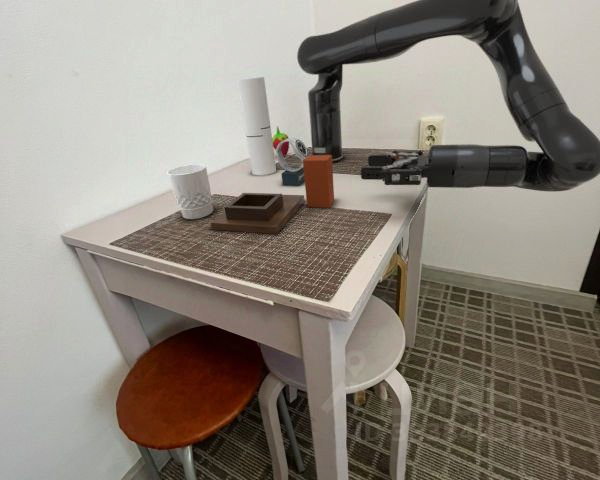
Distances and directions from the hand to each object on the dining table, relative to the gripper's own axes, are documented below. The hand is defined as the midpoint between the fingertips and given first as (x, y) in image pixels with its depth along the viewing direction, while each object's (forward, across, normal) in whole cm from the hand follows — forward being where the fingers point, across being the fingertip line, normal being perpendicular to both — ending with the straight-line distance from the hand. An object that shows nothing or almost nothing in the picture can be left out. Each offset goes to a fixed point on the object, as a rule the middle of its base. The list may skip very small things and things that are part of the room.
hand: (365, 166), depth 64 cm
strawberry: (+34, -40, +8) cm, 53 cm away
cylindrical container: (+34, -23, +8) cm, 41 cm away
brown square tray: (+20, +7, +8) cm, 23 cm away
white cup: (+36, +8, +8) cm, 37 cm away
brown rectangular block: (+10, 0, +8) cm, 13 cm away
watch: (+20, -14, +8) cm, 26 cm away
